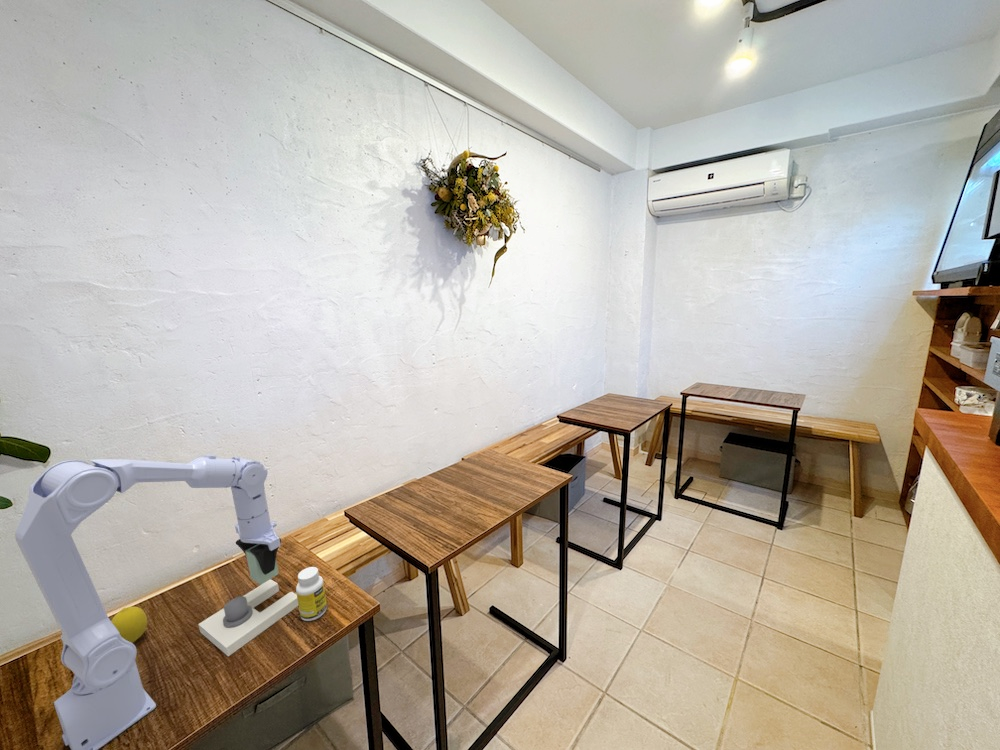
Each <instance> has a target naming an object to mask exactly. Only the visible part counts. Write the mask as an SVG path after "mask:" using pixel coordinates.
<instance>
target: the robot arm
mask: <svg viewBox="0 0 1000 750" xmlns="http://www.w3.org/2000/svg"><path fill="white" fill-rule="evenodd" d="M88 461H89V462H91V463H93V464H94V465H92V464H91V463H88V462H86V461H83V460H79V459H68V460H64V461H60V462H57V463H55V464H53V465H51V466H49V467H48V468H47V469H45V471H44V472H42V474H41V475H40V476H39V477H38V478H36V480H35V481H34V482H32V483H31V485H29V491H28V498H27V499H28V500H27V501H26V505H25V507H24V509H23V512H22V515H21V517H20V520H19V522H18V525H17V528H16V529H15V533H14V537H15V541H16V544H17V545H18V547H19V549H20V552H21V553H22V556H23V557H24V560H25V562H26V563H27V565H28V568H29V569H30V571H31V574H32V575H33V578H34V580H35V581H36V583H37V586H38V587H39V589H40V591H41V593H42V595H43V597H44V600H45V601H46V603H47V606H48V607H49V610H50V611H51V613H52V615H53V617H54V620H55V621H56V624H57V626H58V627H59V630H60V632H61V633H62V634H61V635H60V639H61V642H62V644H63V645H62V652H61V656H60V660H61V663H62V665H63V666H64V667H66V668H68V669H69V670H70V671H71V672H73V674H74V675H73V679H72V684H71V688H69V690H67V691H66V692H65V693H64V694H63V695H61V696H60V697H58V698H57V699H55V700H54V701H53V705H54V708H55V711H56V714H57V717H58V720H59V723H60V724H59V725H60V727H61V729H62V732H63V734H62V735H61V737H62V740H63V743H64V744H65V746H66V747H67V746H69V748H70V750H99V749H101V748H102V747H103V746H105V745H106V744H108V743H109V742H110V741H112V740H113V739H115V738H116V737H117V736H119V735H120V734H121V733H123V732H124V731H126V730H127V729H128V728H130V727H131V726H133V725H134V724H135V723H137V722H138V721H140V720H141V719H143V718H144V717H145V716H146V715H148V714H149V713H151V712H152V711H153V710H155V708H157V703H156V702H155V700H153V699H152V697H151V696H150V695H149V694H148V693H147V691H146V690H145V689H144V686H143V683H142V680H141V677H140V673H139V668H138V665H137V662H136V657H137V654H138V653H137V652H138V651H137V647H136V645H135V644H134V642H133V643H131V642H129V641H126V640H125V639H124V638H122V637H121V635H120V633H119V631H118V630H117V629H116V627H115V626H114V625H113V623H112V622H111V619H110V618H109V616H108V614H107V612H106V610H105V608H104V605H103V603H102V601H101V598H100V596H99V595H98V592H97V589H96V587H95V586H94V583H93V581H92V579H91V576H90V574H89V572H88V569H87V567H86V565H85V564H84V561H83V559H82V556H81V554H80V552H79V550H78V547H77V545H76V543H75V541H74V539H73V537H72V534H73V532H75V530H76V529H77V528H78V527H79V525H80V524H81V523H82V522H83V521H84V520H86V519H87V518H89V517H90V516H91V515H92V514H94V513H95V512H96V511H98V510H99V509H100V508H102V507H103V506H104V505H105V504H107V503H108V502H109V501H110V500H111V499H112V498H113V497H114V496H115V494H116V492H118V493H120V494H124V493H125V492H126V491H128V490H129V489H131V488H132V487H134V485H136V484H138V483H163V482H164V483H165V482H167V483H169V482H186V484H187V486H188V487H190V488H192V489H220V488H221V489H223V488H224V489H225V488H226V489H227V488H230V490H231V495H232V499H233V505H234V509H235V516H236V519H237V523H236V524H235V525H234V527H235V531H236V534H238V535H239V539H237V540H236V541H235V545H237V546H238V548H240V550H242V552H243V553H244V555H245V556H246V552H245V551H246V550H248V549H250V548H251V547H253V546H255V545H257V544H260V545H258V546H256V547H254V548H252V549H250V552H251V553H252V554H253V555H254V556H255V557H256V559H257V560H258V562H259V565H260V568H261V570H262V572H263V574H265V575H266V574H268V573H270V572H271V571H273V570H274V569H275V561H277V553H278V550H279V548H280V547H281V543H282V538H280V537H279V536H277V534H276V532H275V529H274V528H276V527H277V526H278V524H277V522H276V521H271V518H270V513H269V512H270V511H269V506H268V501H267V497H266V491H265V481H266V479H267V477H268V469H266V468H265V466H264V465H263V464H262V463H261V462H259V461H256V460H253V459H247V458H244V457H243V458H241V457H240V456H239V457H238V456H232V457H231V458H222V457H217V455H215V454H211V453H210V454H208V453H207V454H205V455H204V457H203V456H201V457H200V456H199V457H196V458H195V459H193V460H191V461H190V462H188V463H183V462H172V461H171V462H170V461H169V462H168V461H167V462H166V461H155V460H154V461H153V460H142V459H139V460H138V459H127V458H123V459H119V458H114V459H113V458H112V459H111V458H110V459H109V458H96V459H94V458H93V459H88Z"/></svg>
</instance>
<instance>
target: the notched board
mask: <svg viewBox="0 0 1000 750" xmlns="http://www.w3.org/2000/svg"><path fill="white" fill-rule="evenodd" d="M278 592H280V586H279V584H278V582H276V581H274V580H273V579H272V578H271V579H269V580H268V581H266V582H265V583H263V584H261V585H260V584H259V586H257V587H256V588H254V589H252V590H250V591H249V592H247V593H245V594H244V595H243V596H242V595H241V596H236V597H234V598H232V599H230V600H229V601H227V602H226V603H225V604H224V606H223V608H222V609H219V611H217V612H215V613H214V614H212V615H211V616H209V617H208V618H205V619H204V620H203V621H201V622H199V623H198V624H197V625H198V629H199V632H200V634H201V635H202V636H204V637H205V638H206V639H207V640H208V641H210V643H212V644H213V645H214V646H215V647H217V648H218V649H219V650H220V651H221V652H222V653H224V655H226V656H227V657H230V656H231V655H233V654H234V653H235V652H237V651H238V650H239V649H240V648H242V647H244V646H245V645H247V644H248V643H249V642H250V641H252V640H253V639H255V638H256V637H257V636H259V635H260V634H261V633H263V632H265V630H267V629H268V628H269V627H271V626H273V625H274V624H275V623H277V622H278V621H279V620H281V619H282V618H284V617H285V616H286V615H288V614H289V613H290V612H292V611H293V610H295V609H296V608H297V607H299V605H298V599H297V593H296V592H293V591H290V592H288V593H287V594H285V595H284V596H282V597H281V598H279V599H278V600H276V601H275V602H274V603H272V604H270V605H268V607H266V608H264V609H263V610H262V611H258V610H257V609H255V608H257V606H258V605H259V606H260V604H262V603H264V601H265V602H266V600H268V599H270V598H271V597H272V596H273V595H275V594H276V593H278Z"/></svg>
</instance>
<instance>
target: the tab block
mask: <svg viewBox="0 0 1000 750" xmlns="http://www.w3.org/2000/svg"><path fill="white" fill-rule="evenodd" d="M258 545H260V544H257V545H255V546H253V547H251V548H250V549H252V548H254V547H256V546H258ZM250 549H248V550H246V551H245V552H246V555H245V557H246V561H247V566H248V571H249V575H250V580H252V581H253V582H255V583H256V584H258V585H259V586H260V585H262V584H263V583H265V582H266V581H268V580H270V579H271V580H272V579H273V578H274V577H276V576H277V575H279V574H280V571H279V566H278V562H277V561H278V560H276V561H275V569H274V570H273V571H271V572H270V573H268V574H266V575H265V574H263V572H262V570H261V568H260V565H259V562H258V560H257V559H256V557H255V556H254V555H253V554H252V553H251V552H250Z"/></svg>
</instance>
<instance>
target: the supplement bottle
mask: <svg viewBox="0 0 1000 750" xmlns="http://www.w3.org/2000/svg"><path fill="white" fill-rule="evenodd" d="M297 579H298V583H297V584H296V586H295V594H297V599H298V605H299V606H298V610H299V616H300V619H301V620H302V621H305V622H311V621H315V620H317V619H319V618H321V617H322V616H323V615H324V614H325V613H326V611H327V608H328V602H327V596H326V590H325V584H324V583H325V582H324V579H323V577H322V576H321V575H320V572H319V568H317V567H316V566H309V567H306V568H303V569H302V570H301V571H299V572H298V574H297Z"/></svg>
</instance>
